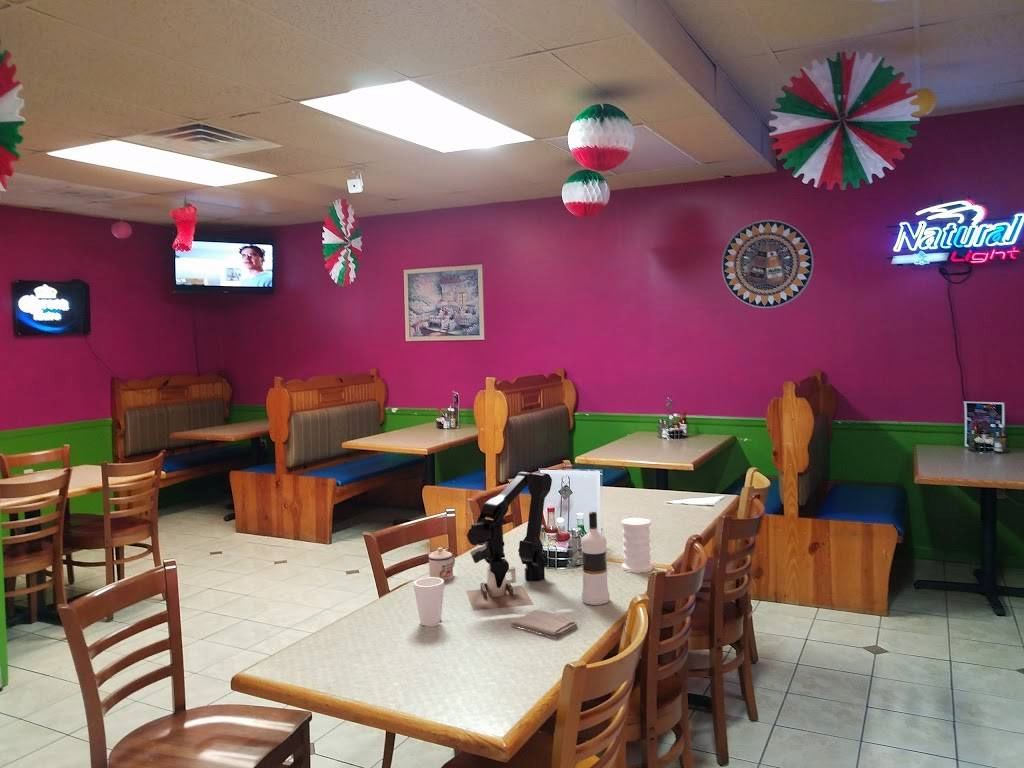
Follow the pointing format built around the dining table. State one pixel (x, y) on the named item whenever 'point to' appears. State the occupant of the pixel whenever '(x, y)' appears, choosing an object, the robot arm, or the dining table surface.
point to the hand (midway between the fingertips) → (496, 583)
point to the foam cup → (429, 599)
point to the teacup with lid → (441, 564)
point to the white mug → (501, 591)
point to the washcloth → (545, 623)
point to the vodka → (594, 565)
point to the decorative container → (636, 545)
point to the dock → (498, 598)
